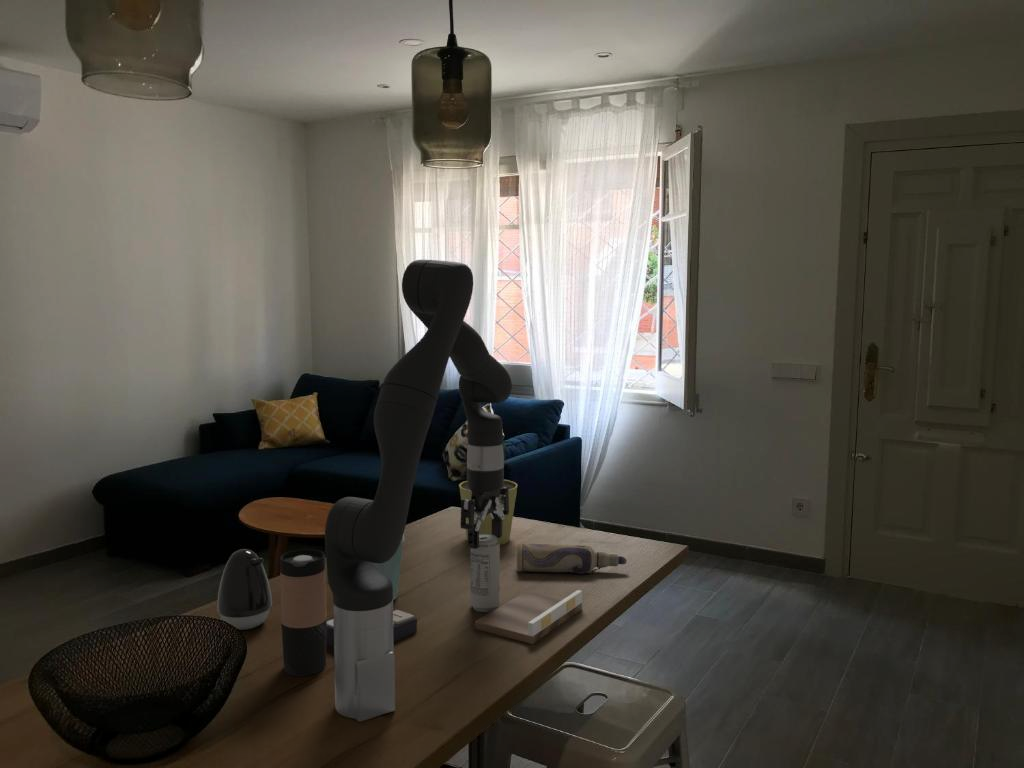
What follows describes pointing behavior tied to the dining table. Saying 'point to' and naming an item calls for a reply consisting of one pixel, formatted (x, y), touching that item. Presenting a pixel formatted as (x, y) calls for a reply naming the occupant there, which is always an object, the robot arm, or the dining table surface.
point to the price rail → (554, 613)
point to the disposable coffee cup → (393, 568)
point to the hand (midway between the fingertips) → (485, 542)
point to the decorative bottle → (563, 558)
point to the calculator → (401, 627)
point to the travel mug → (303, 611)
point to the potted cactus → (487, 523)
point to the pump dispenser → (244, 591)
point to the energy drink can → (485, 574)
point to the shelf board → (522, 616)
